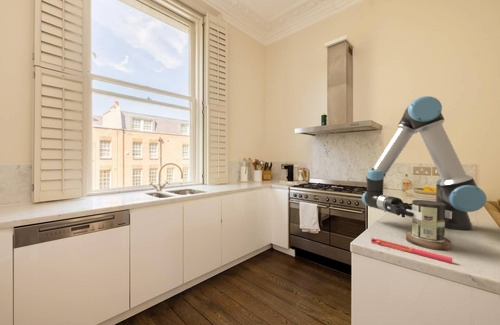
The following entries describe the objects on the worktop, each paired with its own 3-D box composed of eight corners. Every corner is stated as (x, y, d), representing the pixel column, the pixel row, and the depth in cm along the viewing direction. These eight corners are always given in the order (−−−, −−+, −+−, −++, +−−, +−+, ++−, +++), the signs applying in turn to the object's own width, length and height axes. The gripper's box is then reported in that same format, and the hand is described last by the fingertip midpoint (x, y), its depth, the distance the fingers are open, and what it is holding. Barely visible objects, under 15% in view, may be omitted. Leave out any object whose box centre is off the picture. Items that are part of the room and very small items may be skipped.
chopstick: (373, 243, 89) (369, 242, 86) (374, 238, 90) (370, 237, 86) (454, 264, 72) (452, 264, 69) (454, 258, 72) (453, 257, 69)
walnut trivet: (427, 235, 95) (427, 231, 95) (462, 249, 81) (462, 244, 81) (397, 236, 93) (397, 232, 93) (427, 250, 79) (428, 245, 79)
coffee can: (434, 234, 91) (435, 200, 91) (451, 243, 81) (452, 205, 81) (406, 232, 93) (407, 199, 93) (419, 241, 83) (420, 204, 83)
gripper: (411, 211, 107) (461, 224, 86) (367, 213, 102) (409, 227, 81) (412, 195, 107) (462, 205, 86) (367, 197, 102) (410, 207, 81)
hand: (437, 216), depth 84 cm, fingers open, 13 cm apart
